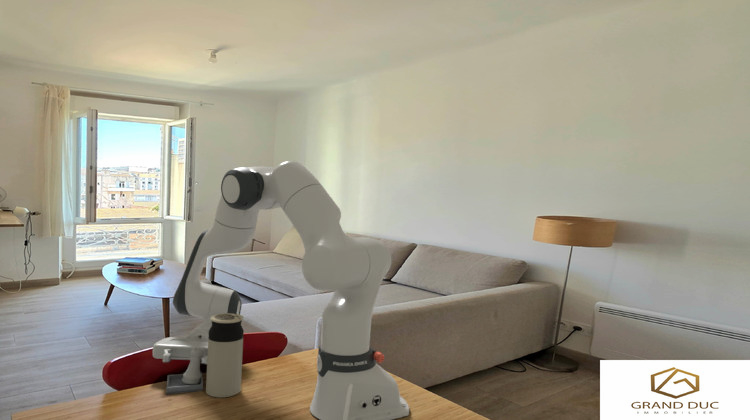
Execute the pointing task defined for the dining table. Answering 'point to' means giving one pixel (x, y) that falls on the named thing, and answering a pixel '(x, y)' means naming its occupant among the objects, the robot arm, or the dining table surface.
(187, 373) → the rook chess piece
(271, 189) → the robot arm
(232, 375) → the travel mug
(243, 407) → the dining table surface
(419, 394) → the dining table surface
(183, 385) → the tray
